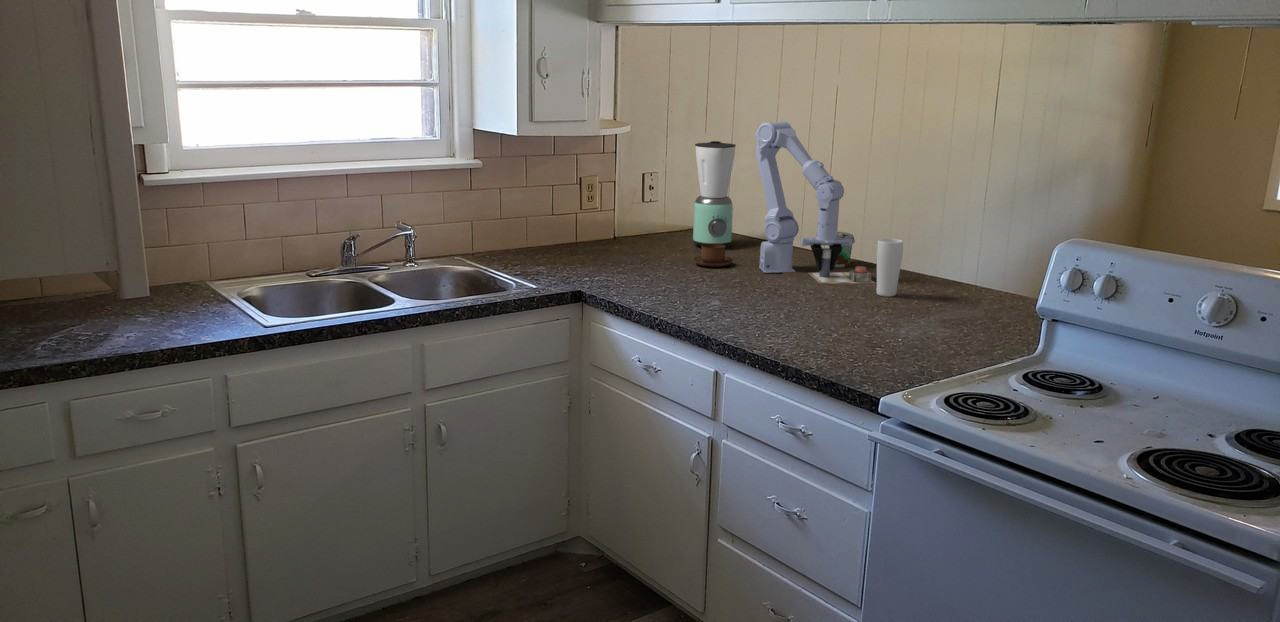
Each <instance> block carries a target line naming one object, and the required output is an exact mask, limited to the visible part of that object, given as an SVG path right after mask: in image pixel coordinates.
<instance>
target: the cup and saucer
mask: <svg viewBox="0 0 1280 622" xmlns="http://www.w3.org/2000/svg"><path fill="white" fill-rule="evenodd" d="M725 248H726V246H725V245H722V244H703V245H702V249H701V254H700V255H699V256H695V257H693V261H694V263H695V264H696V265H699V266H702V267H707V268H722V267H726V266H729V265H731V264H732V263H733V261H734V260H733V258H730V257H728V256H726V249H725Z"/></svg>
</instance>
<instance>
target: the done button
mask: <svg viewBox="0 0 1280 622" xmlns="http://www.w3.org/2000/svg"><path fill="white" fill-rule="evenodd" d="M854 270H855V273H866V271H867V266H862V265H861V266H860V265H857V266H855V267H854Z"/></svg>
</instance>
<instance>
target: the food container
mask: <svg viewBox="0 0 1280 622" xmlns="http://www.w3.org/2000/svg"><path fill="white" fill-rule="evenodd" d="M837 238H851V239H852V246H848V245H841V247H842V251H841V252H840V254H839V256H838V257H837V260H836V262H835V265H834V268H836V269H840V268H841V269H843V268H847V267H850V264H851V263H850V262H851V257H852V249H853V244H855V243H856V240H855V237H854V235H853V234H852V233H850V232H845V231H837Z"/></svg>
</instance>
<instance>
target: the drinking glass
mask: <svg viewBox="0 0 1280 622" xmlns="http://www.w3.org/2000/svg"><path fill="white" fill-rule="evenodd" d="M903 251H904V241H903V240H902V239H897V238H879V239H877V245H876V289H875V290H876V291H875V292H876V293H875V294H877V295H878V296H880V297H886V298H889V297H890V298H891V297H895V296H896V295H897V293H898V284H899V277H900V271H901V266H902V260H903V259H902V258H903Z"/></svg>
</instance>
